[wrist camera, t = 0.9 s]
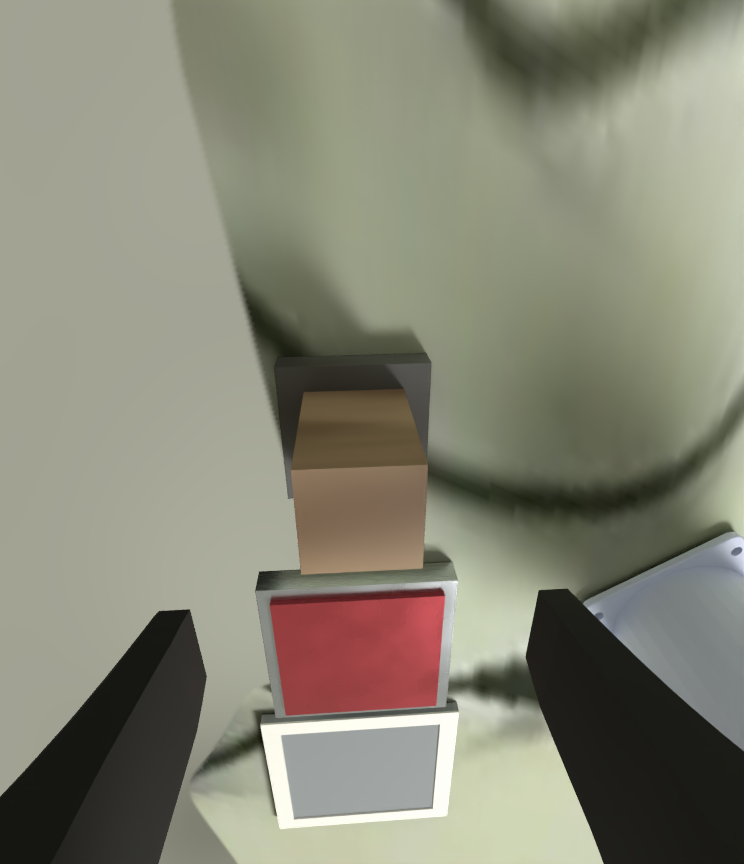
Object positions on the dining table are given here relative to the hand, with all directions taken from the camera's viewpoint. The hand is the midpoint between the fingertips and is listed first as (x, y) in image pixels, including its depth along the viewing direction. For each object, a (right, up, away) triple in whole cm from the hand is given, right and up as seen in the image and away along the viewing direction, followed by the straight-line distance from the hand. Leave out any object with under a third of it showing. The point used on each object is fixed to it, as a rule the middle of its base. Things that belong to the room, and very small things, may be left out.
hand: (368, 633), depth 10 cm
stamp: (-1, +5, +9) cm, 10 cm away
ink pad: (-1, -6, +14) cm, 16 cm away
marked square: (0, -16, +20) cm, 26 cm away
